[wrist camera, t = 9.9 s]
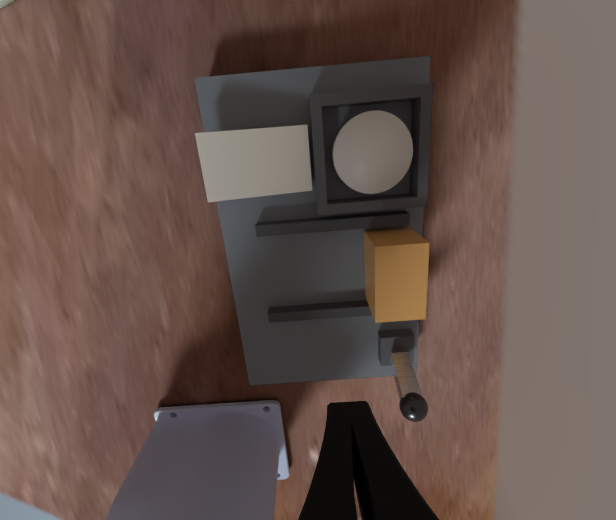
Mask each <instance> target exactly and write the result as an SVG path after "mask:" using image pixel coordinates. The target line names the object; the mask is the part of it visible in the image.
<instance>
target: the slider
mask: <svg viewBox="0 0 616 520" xmlns="http://www.w3.org/2000/svg"><path fill="white" fill-rule="evenodd" d="M429 244H430V243H429V242H428V241H427V240H426V239H424V238H423V237H422V236H421V235H419V234H418V233H417V232H416V231H414V230H413V229H412V228H411V227H399V228H386V229H373V230H364V265H365V297H366V299H367V302H368V305H369V307H370V310H371V313H372V315H373V318H374V320H375V323H380V322H394V321H408V320H421V319H426V302H427V283H428V263H429Z"/></svg>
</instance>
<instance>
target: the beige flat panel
mask: <svg viewBox="0 0 616 520" xmlns="http://www.w3.org/2000/svg"><path fill="white" fill-rule="evenodd" d="M195 137H196V142H197V147H198V153H199V158H200V163H201V168H202V174H203V179H204V184H205V189H206V195H207V200H208V202H216V201H225V200H233V199H242V198H251V197H260V196H269V195H278V194H287V193H296V192H304V191H312V179H311V166H310V153H309V140H308V126H307V125H296V126H283V127H270V128H257V129H244V130H231V131H218V132H205V133H195Z"/></svg>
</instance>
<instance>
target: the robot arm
mask: <svg viewBox="0 0 616 520" xmlns="http://www.w3.org/2000/svg"><path fill="white" fill-rule="evenodd" d="M265 407H269V408H265ZM174 413H176V414H174ZM154 418H155V421H156V423H155V425H154V427H153V429H152V431H151V432H150V434H149V436H148V438H147V440H146V442H145V444H144V445H143V447H142V449H141V451H140V453H139V455H138V456H137V458H136V460H135V462H134V464H133V466H132V467H131V469H130V471H129V473H128V475H127V477H126V478H125V480H124V482H123V484H122V486H121V488H120V489H119V491H118V493H117V495H116V497H115V499H114V501H113V503H112V505H111V508H110V510H109V513H108V516H107V519H106V520H274V510H275V499H276V488H277V480H279V479H286V478H288V477H289V473H290V470H289V463H288V456H287V449H286V442H285V435H284V428H283V421H282V414H281V407H280V403H279V402H278V401H276V400H265V401H250V402H235V403H220V404H204V405H189V406H174V407H160V408H157V409H156V411H155V413H154ZM353 477H354V478H353ZM354 483H355V488H356V493H357V498H358V503H359V508H360V513H361V518H362V520H439V519H438V518H437V516H436V515H435V514H434V512H433V511H432V510H431V508H430V507H429V506H428V504H427V503H426V501H425V500H424V499H423V497H422V496H421V495H420V493H419V492H418V490H417V489H416V487H415V486H414V484H413V483H412V481H411V480H410V478H409V477H408V475H407V474H406V472H405V471H404V469H403V468H402V466H401V465H400V463H399V461H398V460H397V458H396V456H395V455H394V453H393V451H392V450H391V448H390V446H389V445H388V443H387V441H386V439H385V438H384V436H383V434H382V432H381V430H380V428H379V426H378V424H377V422H376V420H375V418H374V416H373V414H372V411H371V409H370V406H369V404H368V403H367V402H366V401H356V402H338V403H330V404H329V405H328V406H327V421H326V428H325V433H324V438H323V443H322V447H321V451H320V455H319V459H318V463H317V466H316V469H315V473H314V476H313V479H312V482H311V486H310V489H309V492H308V495H307V497H306V500H305V503H304V506H303V509H302V511H301V514H300V516H299V519H298V520H357V513H356V505H355V498H354Z"/></svg>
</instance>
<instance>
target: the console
mask: <svg viewBox="0 0 616 520" xmlns="http://www.w3.org/2000/svg"><path fill="white" fill-rule="evenodd" d="M430 59H431V56H423V57H412V58H402V59H391V60H380V61H370V62H359V63H348V64H338V65H327V66H316V67H305V68H295V69H284V70H273V71H263V72H252V73H241V74H230V75H220V76H209V77H198V78H194V79H195V85H196V90H197V96H198V101H199V107H200V112H201V118H202V123H203V129H204V133H205V132H218V131H231V130H244V129H257V128H270V127H283V126H296V125H307V126H308V140H309V153H310V166H311V179H312V191H304V192H296V193H287V194H278V195H269V196H260V197H251V198H242V199H233V200H225V201H217V207H218V212H219V218H220V223H221V229H222V234H223V240H224V246H225V251H226V257H227V262H228V268H229V273H230V279H231V284H232V290H233V296H234V301H235V307H236V312H237V318H238V323H239V329H240V334H241V340H242V346H243V351H244V357H245V362H246V368H247V373H248V379H249V384H250V385H264V384H279V383H294V382H309V381H324V380H339V379H353V378H368V377H383V376H394V374H393V370H392V366H391V362H390V358H391V353H399V352H409V355H410V358H411V361H412V365H413V368H414V371H415V374H417V354H418V332H419V320H408V321H394V322H380V323H375V320H374V318H373V315H372V313H371V310H370V307H369V305H368V302H367V299H366V297H365V265H364V230H373V229H386V228H399V227H411V228H412V229H413V230H414V231H416V232H417V233H418V234H419V235H421V236H422V237H423V218H424V207H427V200H428V179H429V158H430V137H431V116H432V95H433V83H430V84H429V82H430ZM376 110H379V111H385V112H388V113H391V114H393V115H395V116H396V117H398V118H399V119H400V120H401V121H402V122H403V123H404V124H405V125H406V127H407V129H408V130H409V133H410V135H411V138H412V143H413V156H412V161H411V164H410V167H409V169H408V171H407V172H406V174H405V176H404V177H403V178H402V179H401V180H400V181H399V182H398V183H397V184H396V185H395V186H393V187H392V188H390V189H388V190H386V191H384V192H380V193H375V194H366V193H361V192H358V191H355V190H353V189H352V188H350V187H349V186H347V185H346V184H345V183H344V182H343V181H342V180H341V179H340V177H339V176H338V175H337V173H336V171H335V169H334V166H333V163H332V156H331V152H332V145H333V141H334V139H335V136H336V134H337V133H338V131H339V130H340V128H341V127H342V126H343V125H344V124H345V123H346V122H347V121H349V120H350V119H352V118H353V117H355V116H357V115H359V114H361V113H364V112H367V111H376Z"/></svg>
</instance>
